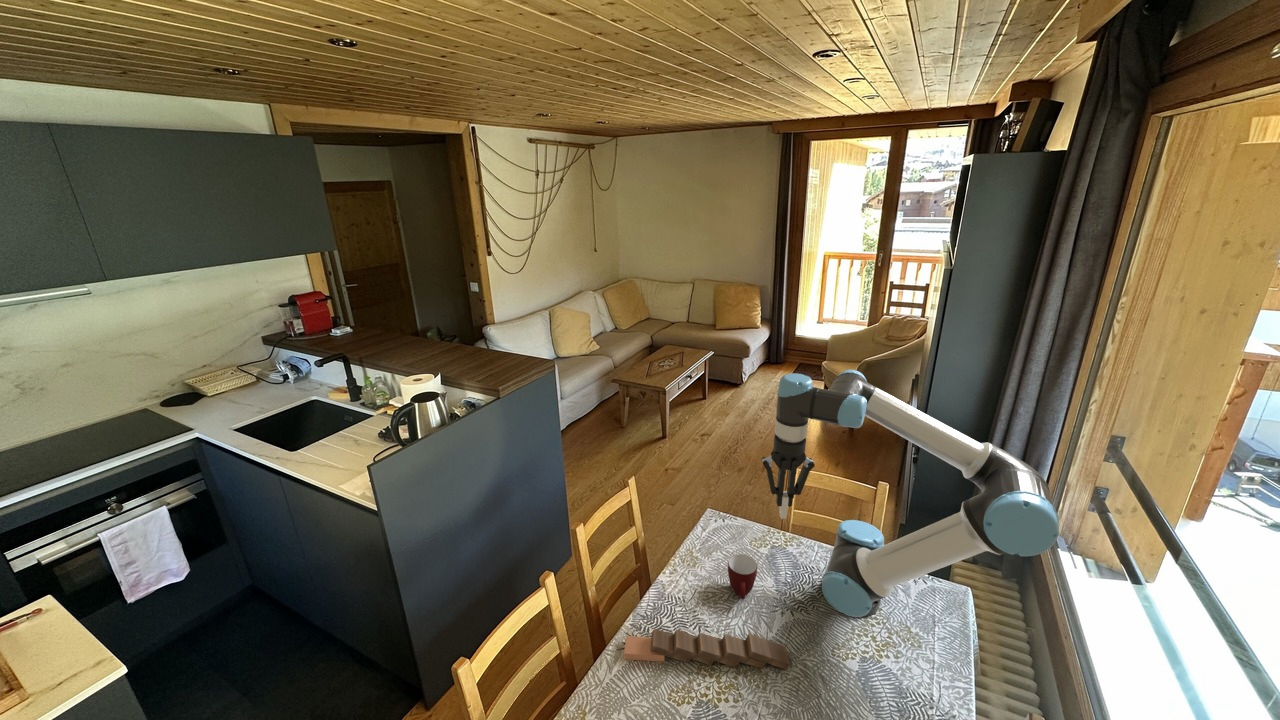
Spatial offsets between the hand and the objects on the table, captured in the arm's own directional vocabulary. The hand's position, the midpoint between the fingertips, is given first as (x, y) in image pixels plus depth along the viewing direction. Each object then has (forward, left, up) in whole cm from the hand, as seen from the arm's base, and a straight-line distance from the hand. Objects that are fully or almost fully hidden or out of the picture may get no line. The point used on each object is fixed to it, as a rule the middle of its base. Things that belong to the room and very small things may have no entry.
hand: (782, 515), depth 129 cm
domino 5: (+6, +18, -29) cm, 34 cm away
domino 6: (0, +18, -29) cm, 34 cm away
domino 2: (+24, +18, -29) cm, 41 cm away
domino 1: (+30, +18, -28) cm, 45 cm away
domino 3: (+18, +18, -29) cm, 39 cm away
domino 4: (+12, +18, -29) cm, 36 cm away
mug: (+9, -2, -30) cm, 31 cm away
